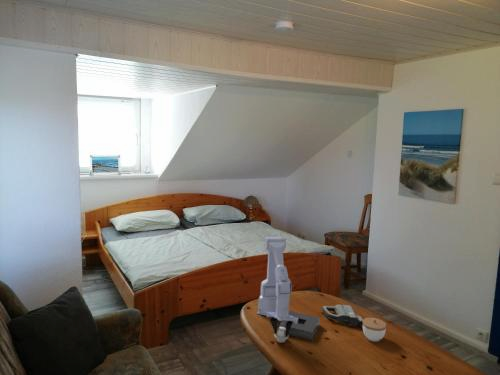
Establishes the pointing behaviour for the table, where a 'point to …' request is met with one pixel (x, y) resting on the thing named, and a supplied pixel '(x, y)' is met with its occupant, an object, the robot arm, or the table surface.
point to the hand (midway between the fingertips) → (281, 334)
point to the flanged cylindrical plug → (281, 334)
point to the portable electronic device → (343, 315)
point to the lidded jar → (374, 329)
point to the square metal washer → (303, 325)
